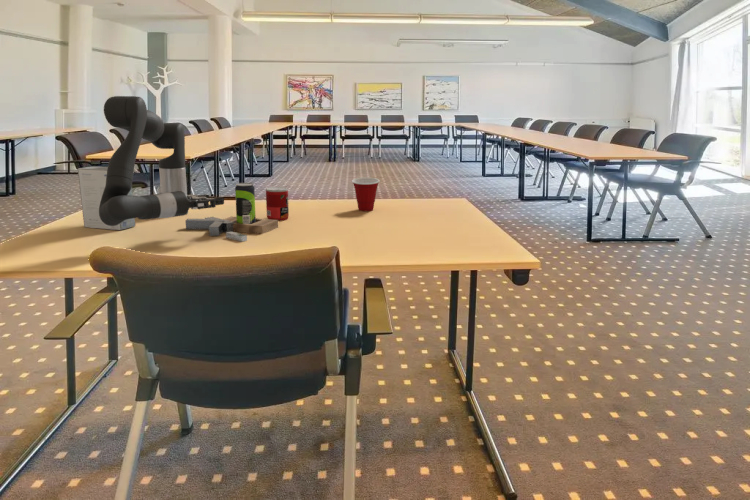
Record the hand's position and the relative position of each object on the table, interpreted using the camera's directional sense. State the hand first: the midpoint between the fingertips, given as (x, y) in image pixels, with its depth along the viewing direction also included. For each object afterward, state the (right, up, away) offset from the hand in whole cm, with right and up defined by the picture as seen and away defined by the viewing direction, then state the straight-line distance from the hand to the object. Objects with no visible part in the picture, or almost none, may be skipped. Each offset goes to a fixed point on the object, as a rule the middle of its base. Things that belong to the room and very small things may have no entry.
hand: (215, 199), depth 201 cm
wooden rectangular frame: (+8, -9, +11) cm, 16 cm away
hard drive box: (-39, -9, +11) cm, 41 cm away
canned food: (+15, -5, +28) cm, 32 cm away
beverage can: (+8, -9, +11) cm, 16 cm away
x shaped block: (-4, -10, +7) cm, 13 cm away
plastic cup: (+47, -1, +46) cm, 66 cm away
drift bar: (+8, -13, -4) cm, 16 cm away
